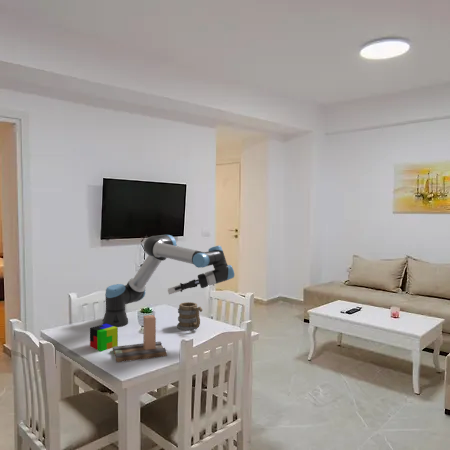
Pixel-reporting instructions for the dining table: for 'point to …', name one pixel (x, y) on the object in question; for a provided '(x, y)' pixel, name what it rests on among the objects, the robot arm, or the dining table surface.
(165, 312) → the dining table surface
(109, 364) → the dining table surface
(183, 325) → the tankard
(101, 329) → the puzzle toy
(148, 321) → the salmon tan rectangular block
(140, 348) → the wooden plank board
